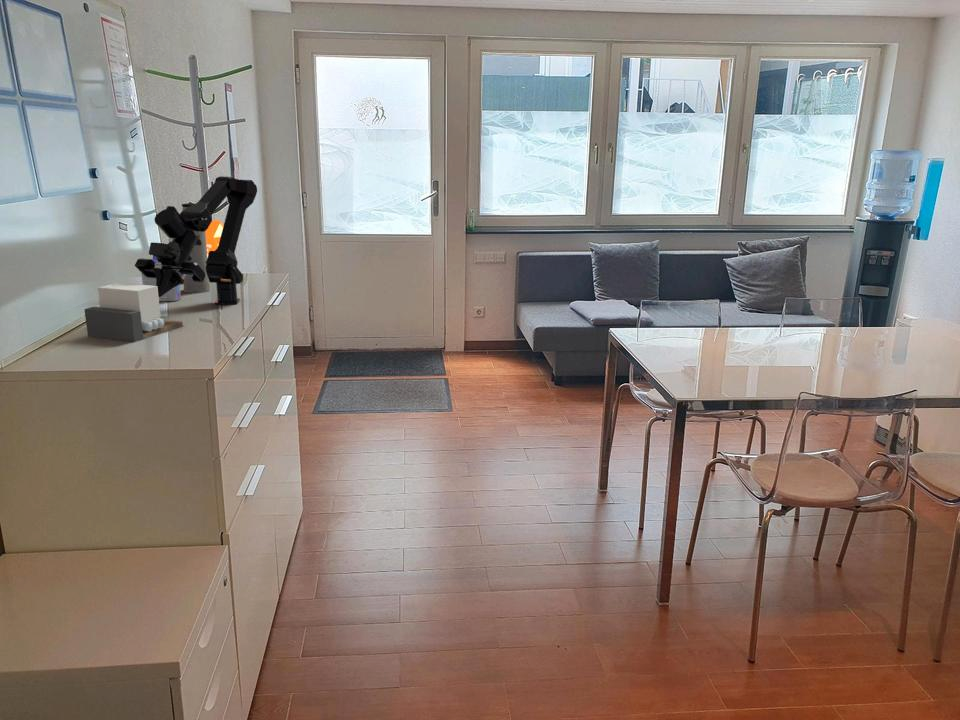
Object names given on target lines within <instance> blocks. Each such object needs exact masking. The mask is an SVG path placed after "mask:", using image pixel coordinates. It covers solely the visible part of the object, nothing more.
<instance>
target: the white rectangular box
mask: <svg viewBox="0 0 960 720" xmlns="http://www.w3.org/2000/svg"><path fill="white" fill-rule="evenodd" d="M97 292H98V300H99V307H102V308H112V309H122V310H132V311H140V312H141V322H142V331H152V330H153V329H154V330H156V329H157V328H162V327H163V326H164V320H165V319H163V318H161V308H160V307H161V306H160V301H159V296H158V286H150V285H143V284H136V283H127V282H126V283H124V282H115V283H110V284H108V285H103V286H102V285H101V286H98V287H97Z"/></svg>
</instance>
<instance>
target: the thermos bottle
mask: <svg viewBox="0 0 960 720" xmlns="http://www.w3.org/2000/svg"><path fill="white" fill-rule="evenodd" d="M194 204H195V203H192V202H191V203H189V202H188V203H182V204H181V207H182V208H181V210H182V211H183V210H184V209H186V208H187V207H189V206H191V205H194ZM182 211H181V212H182ZM193 232H194V233H195V234H196V235H198V236H199V238H200V240H201V243H202V245H195V246H194V248H193V250H192V252H191V254H190V257H191V258H192V260H191V261H187V262H195V263H197V264H198V265H199V266H200V267H201V269H202V270H203V271H204V272H205V278H204V281H203V282H194V281H193V279H192V277H193V275H188V274H186V276H185V277H184V279H183V280H184V281H185V282H184V283H183V289H184V292H186V293H191V294H192V293H193V294H194V293H195V294H196V293H205V292H210V290H211V283H210V282H209V279H208V276H207V272H206V264H207V263H205V262H206V261H207V244H206V231H204V232H199V231H193Z"/></svg>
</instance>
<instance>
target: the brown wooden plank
mask: <svg viewBox="0 0 960 720" xmlns="http://www.w3.org/2000/svg"><path fill="white" fill-rule="evenodd" d="M163 320H164V326H163V327H162V328H157V329H156V330H154V329H153V330H152V331H143V339H142V340H144V339H148V338H150V337H153V336H157V335H161V334H163V333H165V332H169V331H172V330H175V329H178V328H181V327H183V326H184V323H183V321H180V320H173V319H172V320H171V319H163Z"/></svg>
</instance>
